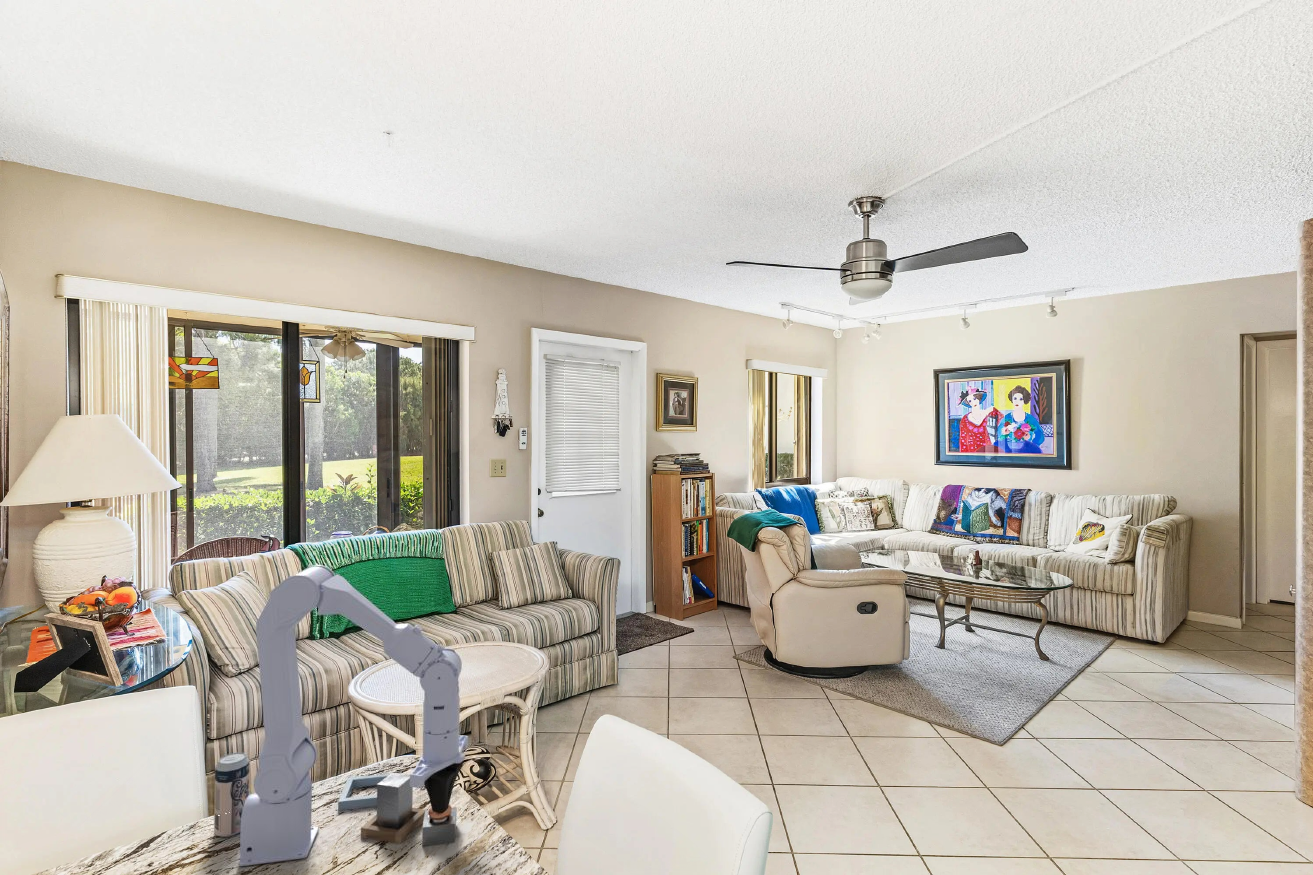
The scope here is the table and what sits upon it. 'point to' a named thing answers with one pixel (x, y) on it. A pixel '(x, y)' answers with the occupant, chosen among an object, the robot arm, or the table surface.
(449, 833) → the frame
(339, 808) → the light blue square frame
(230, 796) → the beer can
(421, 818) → the walnut socket
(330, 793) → the table surface
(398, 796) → the grey metal block
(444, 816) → the plunger
